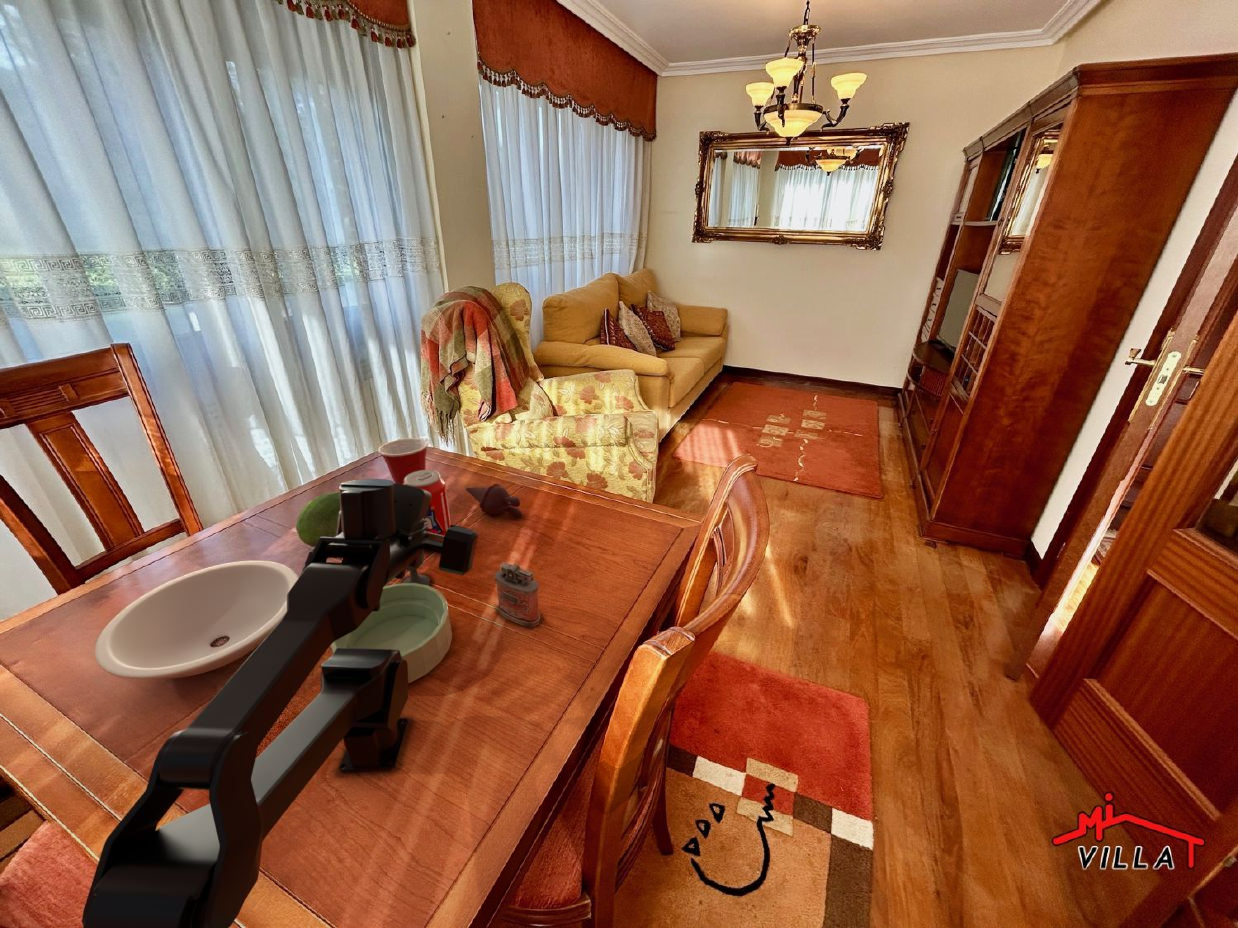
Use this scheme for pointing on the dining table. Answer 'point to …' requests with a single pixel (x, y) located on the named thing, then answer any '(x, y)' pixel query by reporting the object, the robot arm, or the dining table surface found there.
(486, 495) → the icecream
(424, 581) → the sundae
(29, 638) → the dining table surface
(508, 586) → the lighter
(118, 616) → the white sink basin
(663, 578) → the dining table surface
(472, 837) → the dining table surface
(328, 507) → the fruit
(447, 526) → the soda can
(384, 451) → the plastic cup
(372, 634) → the bowl
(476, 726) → the dining table surface
